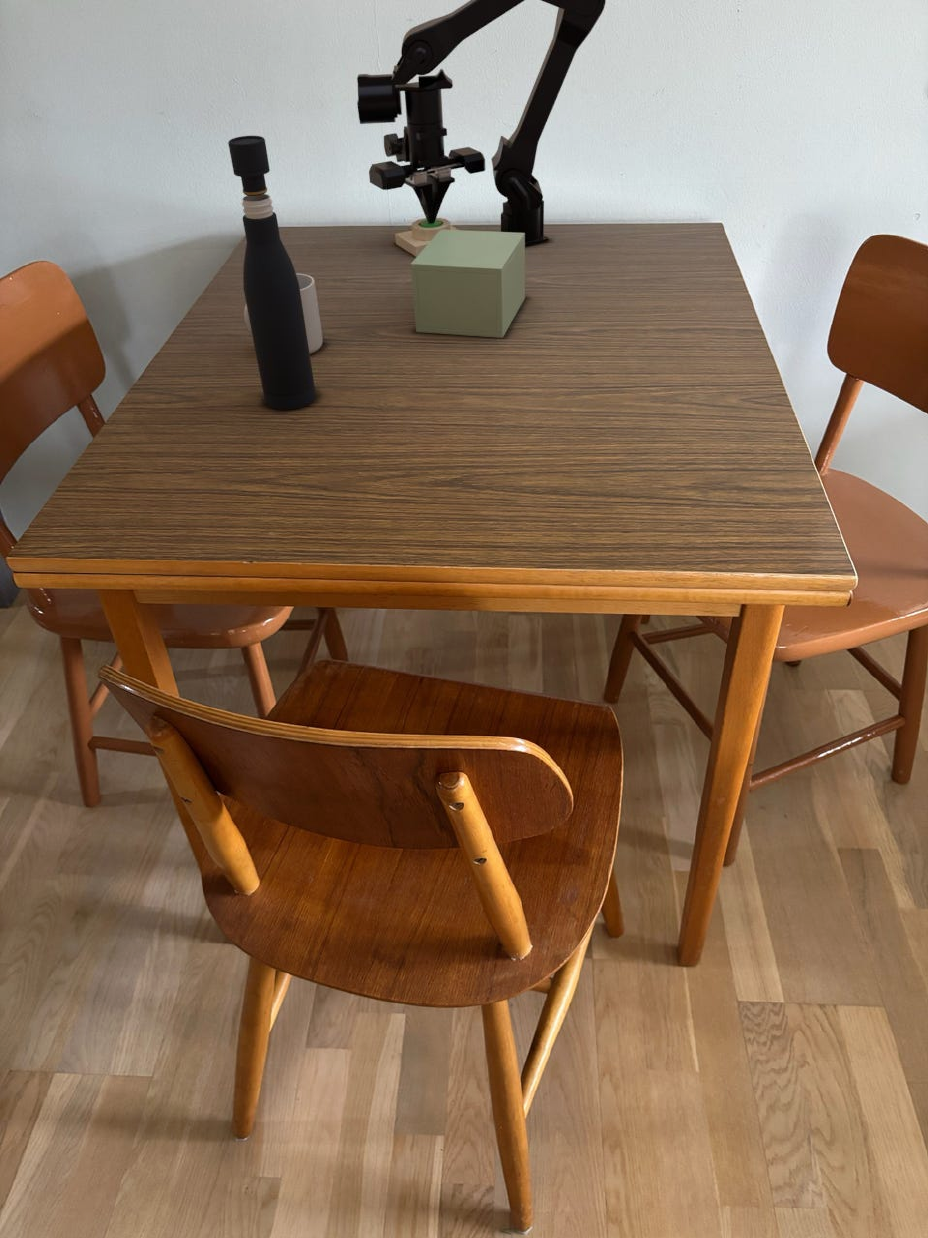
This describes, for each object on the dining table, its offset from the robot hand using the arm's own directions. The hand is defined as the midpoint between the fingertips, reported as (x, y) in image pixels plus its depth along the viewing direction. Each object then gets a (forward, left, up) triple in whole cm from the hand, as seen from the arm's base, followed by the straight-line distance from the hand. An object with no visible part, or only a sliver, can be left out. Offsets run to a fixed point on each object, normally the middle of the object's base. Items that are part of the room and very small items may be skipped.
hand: (431, 222), depth 161 cm
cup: (+36, +27, -4) cm, 45 cm away
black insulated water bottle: (+41, +42, -4) cm, 59 cm away
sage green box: (+9, +31, -4) cm, 32 cm away
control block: (0, 0, -4) cm, 4 cm away
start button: (0, 0, -2) cm, 2 cm away
